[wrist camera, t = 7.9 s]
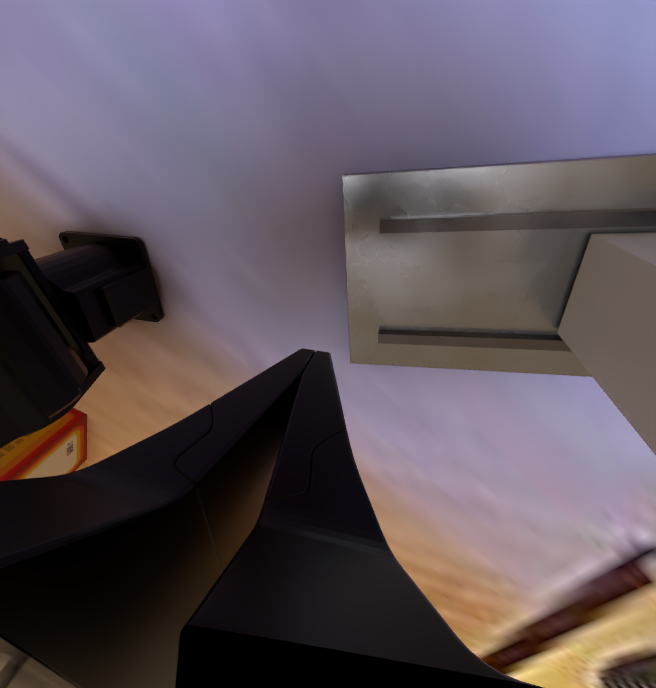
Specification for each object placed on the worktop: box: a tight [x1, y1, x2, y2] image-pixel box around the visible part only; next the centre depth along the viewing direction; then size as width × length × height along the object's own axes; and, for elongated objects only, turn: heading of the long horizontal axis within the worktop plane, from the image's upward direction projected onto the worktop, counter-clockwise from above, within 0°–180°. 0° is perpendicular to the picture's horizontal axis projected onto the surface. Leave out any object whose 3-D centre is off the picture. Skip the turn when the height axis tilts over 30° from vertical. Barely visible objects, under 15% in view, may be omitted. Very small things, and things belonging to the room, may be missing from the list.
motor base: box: [342, 154, 656, 377], centre depth 14 cm, size 22×12×12 cm, turn 94°
